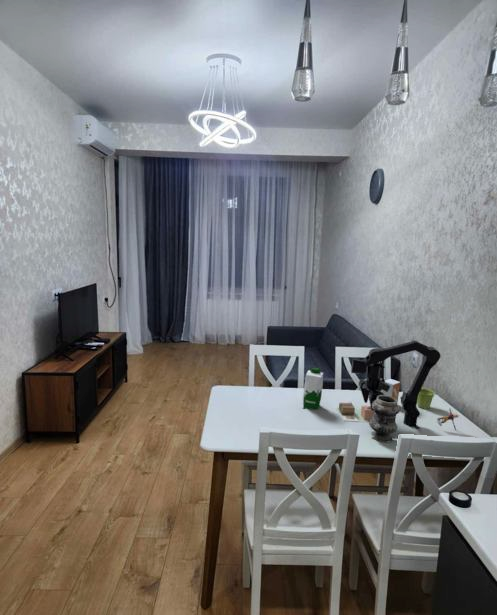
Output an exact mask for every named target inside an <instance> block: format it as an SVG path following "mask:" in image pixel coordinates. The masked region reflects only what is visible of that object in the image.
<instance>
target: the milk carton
mask: <svg viewBox="0 0 497 615" xmlns="http://www.w3.org/2000/svg"><path fill="white" fill-rule="evenodd" d="M323 382H324V372H321V370H320V367H311V370H307V372H306V374H305V379H304V388H303V397H302V398H303V400H302V401H303V403H302V404H303V407H302V408H303V409H304V410H306V409H309V410H310V409H311V410H318V409H319V407H320V405H321V404H320V403H321V400H322V393H323V385H324V383H323Z"/></svg>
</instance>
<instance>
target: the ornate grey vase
mask: <svg viewBox="0 0 497 615" xmlns="http://www.w3.org/2000/svg"><path fill="white" fill-rule="evenodd" d="M372 408H373V409H374V413H373V417H372V418H371V419H370V420H369V422H368V425H369V427H370V428H371V430H373V431H372V432H371V433H370V434H371V436H372V437H371V438H372V439H373V440H374V441H377V442H378V441H379V442H381V441H382V442H381V443H388V442H387V441H391V440H392V441H393V439H392V438H393V436H392V435H391V434H394V433H396V432H397V431H398V425H397V423H396V418H397V415H398V414H399V413H400V411H401V408H400V405H399V404H398V403H397V400H396V399H395V398H393V397H390V396H386V395H379V396H377V399H376V400H375V401H373V403H372ZM392 441H391V442H392Z"/></svg>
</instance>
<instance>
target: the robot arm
mask: <svg viewBox="0 0 497 615" xmlns="http://www.w3.org/2000/svg"><path fill="white" fill-rule="evenodd" d="M414 351H416V352H418V353H419V354H421V355H422V359H421V364H420V367H419V369H418V371H417V373H416V375H415V377H414V379H413V382H412V383H411V385H410V387H409V390H407V391H403V392H402V395H401V397H400V398H399V399H400V404H401V407H402V408H403V410H404V416H403V425H405V426H407V427H409V428H415V429H420V427H419V425H418V423H417V421H418V418H419V417H420V415H421V412H420V411H419V409H418V408H417V407H418V406H417V400H418V394H419V392H420V390H421V388H422V389H423V386H424V384H425V381H426V380H427V377H428V375H429V373H430V372H431V369H432V368H433V367H435V366H436V364H437V363H438V362H439V361H440V359H441V353H440V351H439V350H438V349H437V348H435V347H434V346H427V345H426V344H423V343H421V342H419V341H418V340H411V341H409V342H405V343H402V344H401V343H400V344H397V345H393V346H389V347H375V348H372V349H370V350H369V351H368V354H367V355H366V356H365V357H364V358H363V359H356V358H352V363H351V369H350V372H351V374H357V375H365V373H366V375H365V376H364V379H363V380H362V379H360V380H359V381H358V386H359V389H360V392H361V395H362V398H363V401H364V403H365V404H367V403H368V401H369V406H371V410H374V409H373V408H372V403H373V401H375V400H376V399H377V396H379V395H384V394H383V393H382V392H381V391H382V390H384V391H386V392H388V390H389V388H390V385H388V384H387V383H386V382H385V379H384V378H381V377H380V373H381V369H385V368H386V366H385V365H384V364H383V362H384V361H386V360H388V359H389V358H391V357H395V356H398V355H402V354H407V353H411V352H414Z"/></svg>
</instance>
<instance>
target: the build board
mask: <svg viewBox="0 0 497 615" xmlns="http://www.w3.org/2000/svg"><path fill="white" fill-rule="evenodd" d="M334 408H335V410H336V411H337V413H338V415H339V416H340V418H341V419H342V420H343V422H345V423H346V422H347V423H349V422H351V423H353V422H354V423H369V420H364V419H363V418H362V417H361V409H362V408H356V407H355V412H354V416H350V415H342V414H341V413H340V411H339V407H334Z"/></svg>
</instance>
